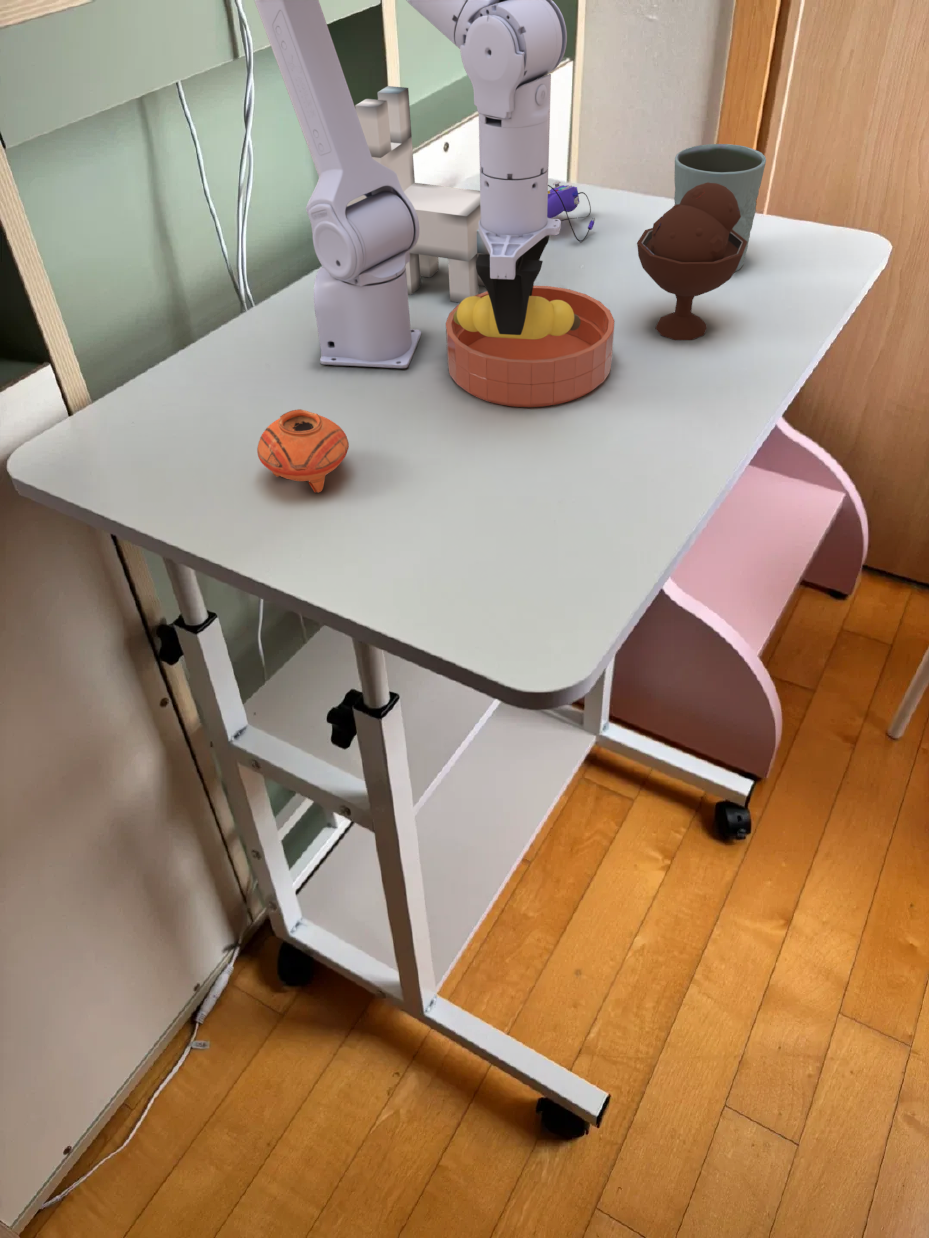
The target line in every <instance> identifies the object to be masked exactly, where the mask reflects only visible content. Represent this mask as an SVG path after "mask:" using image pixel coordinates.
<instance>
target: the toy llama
mask: <svg viewBox="0 0 929 1238" xmlns="http://www.w3.org/2000/svg"><path fill="white" fill-rule="evenodd" d="M354 106H355V109H356V112H357V115H358V118H359V121H360V124H361V127H362V130H363V133H364V136H365V139H366V142H367V145H368V148H369V151H370V153H371V156H372V158H373V159H374V160H375V161H377V162H379V163H380V164H382V165H384V166H386V167H388V168H389V169H391V170H393V171H394V172H395V173H396V174H397V177H398V180H399V183H400V185H401V188H402V190H403V192H404V193H405V195H406V196H407V198H408V199H409V200H410V202H411V203H412V205H413V206H414V208H415V211H416V213H417V216H418V221H419V238H418V241H417V243H416V245H415V246H414V247H413V248H412V249H411V250H409V254H410V262H408V263H407V264H406V276H407V289H408V295H411V296H412V295H414V293H416V292H417V290H418V289H420V288H421V287H422V280H421V277H423V278H431V277H432V276H433V275H435V274H436V273H437V272H438V271H439V270H440V265H439V259H447V262H448V265H447V266H448V283H449V284H448V285H449V302H453V303H458V304H460V303H461V302H462V301H463V300H464V299H465V298H467V297H470V296H475V295H478V294H479V286H480V287H485V285H484V283H483V282H482V280H481V278H480V277H479V275H478V273H477V270H476V260H477V257H478V255H479V254H489V252H488V250H487V248H486V246H485V244H484V242H483V240H482V238H481V236H480V234H479V220H480V219H481V207H480V190H479V189H469V188H461V187H454V186H445V185H436V184H428V183H422V182H416V181H415V180H416V178H415V164H414V150H413V137H412V135H413V134H412V120H411V107H410V106H411V105H410V92H409V87H405V86H395V85H394V86H393V85H392V86H391V85H387V86H385V87H383V88H382V89H381V90H379V91H377V99H373V98H365V99H363V100H362V101H360V102H359V103H356V104H354ZM365 198H366V197H365V196H364V195H362V196H360V197H358V198H355V199H353V200H352V201H350V202H349V203H348V204H347V206H349V205H352V204H354V203H356V202H358V201H361V200H363V199H365Z"/></svg>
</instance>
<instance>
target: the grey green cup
mask: <svg viewBox="0 0 929 1238" xmlns="http://www.w3.org/2000/svg"><path fill="white" fill-rule="evenodd" d="M766 163H767V158H766V156H765V154H764V153H763V152H761V151H759V150H757V149H754V148H751V147H749V146H745V145H739V144H731V143H708V144H700V145H695V146H691V147H688V148H684V149H682V150H681V151H679V152H678V153H676V155H675V157H674V180H673V181H674V195H673V197H674V198H673V200H674V201H673V202H674V205H676V204H680V202H681V200H682V198H683V196H684V195H685V194H686V193H687V191H689V190H691V189H692V188H694V187H696V186H697V185H701V184H704V183H707V182H709V183H717V184H720V185H722V186H725V187H726V188H728V189H729V190H730V191H731V192H732V193H733V194H734V196H735V198H736V200H737V202H738V208H739V210H740V215H741V218H740V219H739V221H738V222H737V224H736V226H734V227H733V230H734V231H735V232H736V233H738V234H739V235H740V236H741V237H742V238H744V239H745V240H746V241H747V244H746V247H745V250H744V253H743V255H742V258H741V260H740V262H739V265H738V267H737V269H736V271H735V272H734V273H736V272H737V271H739V270H740V269H742V268H743V266H744V264H745V262H746V261H745V260H746V256H747V252H748V247H749V241H750V238H751V237H750V236H751V232H752V228H753V225H754V220H755V215H756V211H757V210H756V207H757V199H758V197H759V193H760V191H759V190H760V188H761V185H762V181H763V176H764V173H765V167H766Z"/></svg>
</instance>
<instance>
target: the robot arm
mask: <svg viewBox="0 0 929 1238" xmlns="http://www.w3.org/2000/svg"><path fill="white" fill-rule="evenodd" d="M253 1H254V4H255V6H256V9H257V12H258V15H259V17H260V21H261V23H262V26H263V28H264V31H265V34H266V36H267V37H266V38H267V39H268V42H269V44H270V48H271V50H272V53H273V56H274V58H275V60H276V64H277V66H278V70H279V72H280V74H281V75H280V76H281V77H282V80H283V83H284V86H285V89H286V91H287V94H288V96H289V99H290V102H291V105H292V108H293V110H294V113H295V116H296V118H297V121H298V124H299V127H300V130H301V132H302V135H303V137H304V140H305V143H306V146H307V148H308V152H309V154H310V156H311V159H312V162H313V165H314V168H315V170H316V173H317V176H318V180H317V183H316V185H315V187H314V189H313V191H312V193H311V195H310V197H309V199H308V201H307V203H306V207H305V211H306V213H307V216H308V219H309V221H310V226H311V232H312V243H313V249H314V253H315V255H316V258H317V260H318V261H319V263H320V264H321V267H319V268H318V270H317V271H316V274H315V278H314V285H313V307H314V313H315V320H316V327H317V334H318V341H319V348H320V354H321V357H320V359H319V362H320V364H321V365H327V366H329V365H330V366H345V367H346V366H348V367H349V366H350V367H367V368H391V369H407V368H408V367H409V366H410V363H411V361H412V358H413V356H414V353H415V351H416V348H417V346H418V344H419V341H420V339H421V336H422V331H421V329H415V328H411V317H410V315H411V314H410V303H409V302H410V301H409V294H408V289H407V276H406V264H407V263H408V262H410V254H409V250H411V249H412V248H413V247H414V246H415V245H416V243H417V241H418V238H419V221H418V216H417V213H416V211H415V208H414V206H413V205H412V203H411V202H410V200H409V199H408V198H407V196H406V195H405V193H404V192H403V190H402V188H401V185H400V183H399V180H398V177H397V174H396V173H395V172H394V171H393V170H391V169H389V168H388V167H386V166H384V165H382V164H380V163H379V162H377V161H375V160H374V159H373V158H372V156H371V153H370V151H369V148H368V145H367V142H366V139H365V136H364V133H363V130H362V127H361V124H360V121H359V118H358V115H357V112H356V108H355V104H354V101H353V98H352V94H351V92H350V89H349V86H348V83H347V80H346V77H345V74H344V71H343V68H342V65H341V62H340V59H339V57H338V53H337V50H336V47H335V44H334V41H333V39H332V35H331V33H330V30H329V26H328V24H327V21H326V18H325V16H324V12H323V9H322V6H321V3H320V0H253ZM405 1H406V2H407V3H408V4H409V5H410V6H411V7H412V8H413V9H414V10H416V12H417V13H419V14H420V15H421V16H422V17H423V18H425V20H427V21H428V22H429V23H430V24H431V25H433V26H434V27H435V29H437V30H438V31H439V32H440V33H441V34H442V35H444V37H446V38H447V39H448V40H449V41H450V42H451V43H452V44H453V45H455V46H456V47H457V48H458V49H459V51H460V58H461V62H462V66H463V68H464V71H465V74H466V76H467V77H468V79H469V80H470V82H471V86H472V89H473V105H474V106H475V107H476V111H477V113H478V148H479V149H478V150H479V151H478V152H479V153H478V154H479V155H478V156H479V191H480V207H481V219H480V220H479V234H480V236H481V238H482V240H483V242H484V244H485V246H486V248H487V250H488V252H489V254H479V255H478V257H477V260H476V270H477V273H478V275H479V277H480V278H481V280H482V282H483V283H484V285H485V286H484V287H485V289H486V291H487V292H488V294H489V297H490V300H491V304H492V308H493V313H494V317H495V321H496V325H497V329H498V332H499V334H507V335H521V333H522V330H523V327H524V323H525V318H526V313H527V306H528V300H529V296H532V291H533V285H534V286H535V281H536V280H537V278H538V276H539V274H540V272H541V270H542V267H543V262H544V260H541V257H542V255H543V253H544V250H545V249H546V246H547V245H548V243H549V240H550V236H558V235H559V234H560V233H561V227H562V221H560V220H561V219H559V218H548V217H547V204H548V191H549V186H548V185H549V165H550V129H551V127H550V126H551V93H552V91H551V90H552V89H551V88H552V87H551V86H552V74H551V73H552V72H553V71H555V70H556V69H557V68H558V67H559V66H560V64H561V62H562V61H563V58H564V56H565V53H566V50H567V44H568V43H567V42H568V31H567V26H566V22H565V19H564V18H565V17H564V15H563V13H562V11H561V9H560V8H559V6H558V5H557V4H556V3H555V1H553V0H405ZM362 195H364V196H365V197H366V198H365V199H363V200H361V201H358V202H356V203H354V204H352V205H349V206H347V204H348V203H349V202H350V201H352V200H353V199H355V198H358V197H360V196H362Z"/></svg>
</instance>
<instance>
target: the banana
mask: <svg viewBox="0 0 929 1238" xmlns="http://www.w3.org/2000/svg"><path fill="white" fill-rule="evenodd" d="M458 305H459V306H458V309H457V311H455V313H454V321H455V322H456V323H457V324H458V325H461V326H462V327H463V328H464V329H465V330H467V331H470V332H477V331H479V332H480V333H481V334H483V335H484V336H487V337H496V338H516V339H541V338H544V337H546V336H547V335H548V334H549V335H552V336H561V335H563V334H565V333H567V332H568V331H569V330H570V331H574V330H577V329H578V328H579V326H580V324H581V321H580V318H579V317H578V316H577V315H576V314H574V312H573V310H572V308H571V306H570V305H569V304H568V303H566V302H564V301H562V300H553V301H550V302H549V301H548V300H547V299H545V298H542V297H538V296H529V300H528V306H527V313H526V318H525V323H524V327H523V330H522V333H521V335H507V334H499V332H498V329H497V325H496V321H495V317H494V313H493V308H492V304H491V300H490V297H489V295H486V296H484V297H482V298H480V297H477V296H470V297H467V298H465V299H464V300H463V301H462V302H461V303H458Z"/></svg>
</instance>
